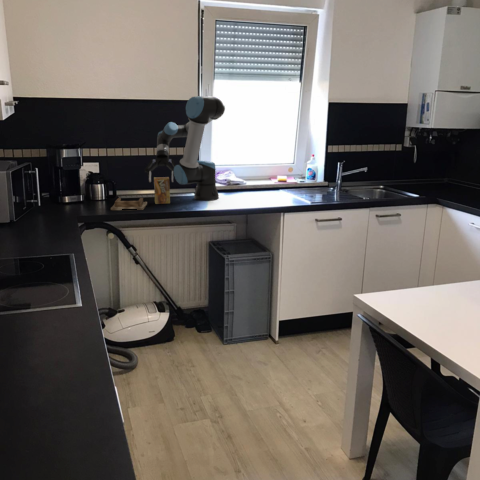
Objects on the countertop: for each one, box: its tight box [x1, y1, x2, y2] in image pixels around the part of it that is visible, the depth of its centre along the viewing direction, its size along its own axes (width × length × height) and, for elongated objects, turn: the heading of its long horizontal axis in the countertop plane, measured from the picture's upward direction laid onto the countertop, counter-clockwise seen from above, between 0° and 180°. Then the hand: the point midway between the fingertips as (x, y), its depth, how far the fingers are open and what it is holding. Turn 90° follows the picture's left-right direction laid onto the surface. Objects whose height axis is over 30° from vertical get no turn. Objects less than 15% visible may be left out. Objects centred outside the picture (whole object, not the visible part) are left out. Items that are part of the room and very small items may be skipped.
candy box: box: [153, 176, 171, 205], centre depth 315 cm, size 9×4×15 cm, turn 103°
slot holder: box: [110, 197, 148, 211], centre depth 306 cm, size 18×18×4 cm
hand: (161, 181), depth 321 cm, fingers open, 13 cm apart
